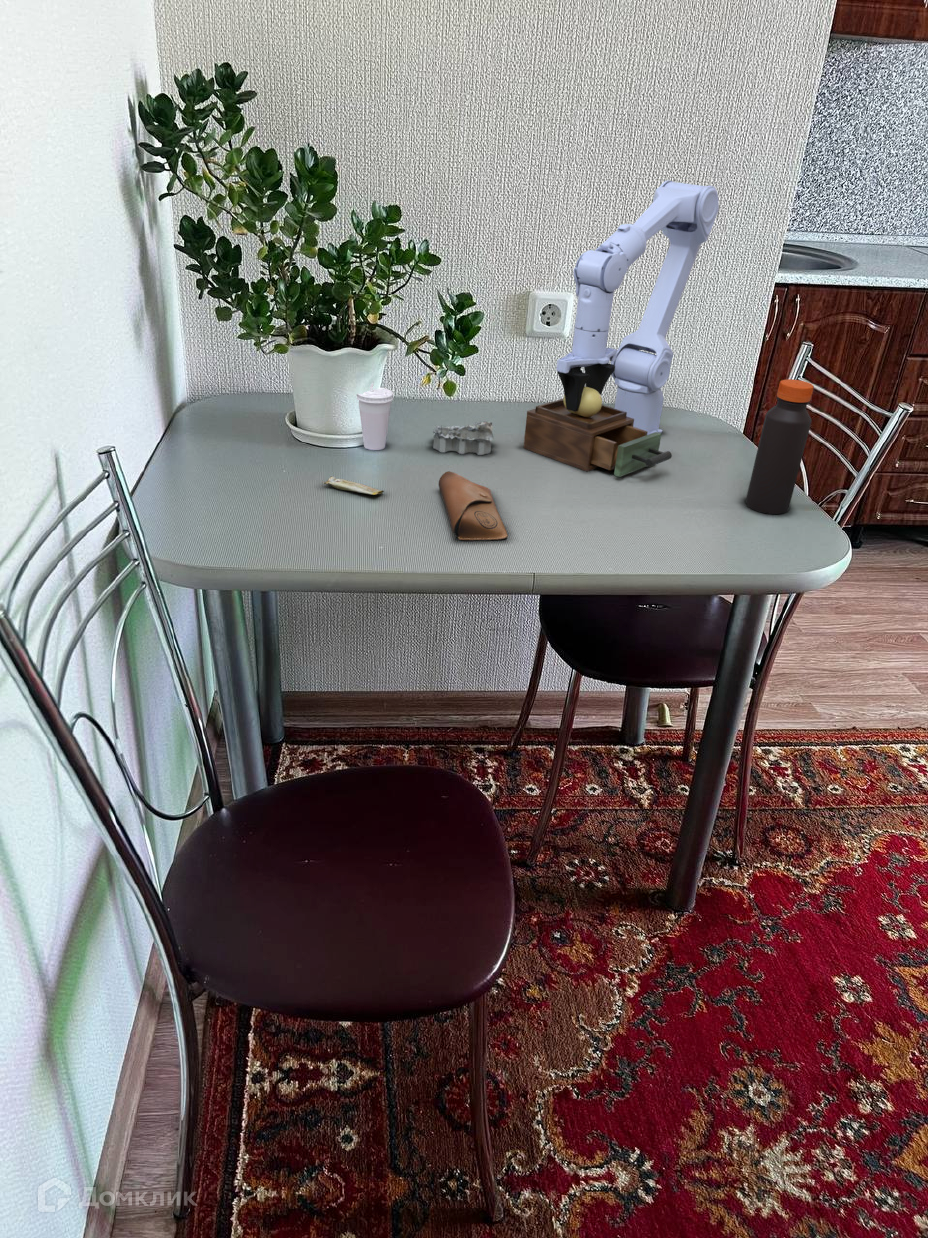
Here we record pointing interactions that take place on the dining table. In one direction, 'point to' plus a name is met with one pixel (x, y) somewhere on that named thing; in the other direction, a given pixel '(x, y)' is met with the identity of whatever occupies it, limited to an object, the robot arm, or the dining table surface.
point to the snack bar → (351, 486)
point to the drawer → (627, 450)
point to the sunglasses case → (470, 509)
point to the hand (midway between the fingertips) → (581, 407)
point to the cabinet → (566, 436)
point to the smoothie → (375, 416)
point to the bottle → (780, 449)
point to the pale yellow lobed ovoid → (588, 403)
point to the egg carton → (464, 438)
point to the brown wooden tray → (545, 410)
